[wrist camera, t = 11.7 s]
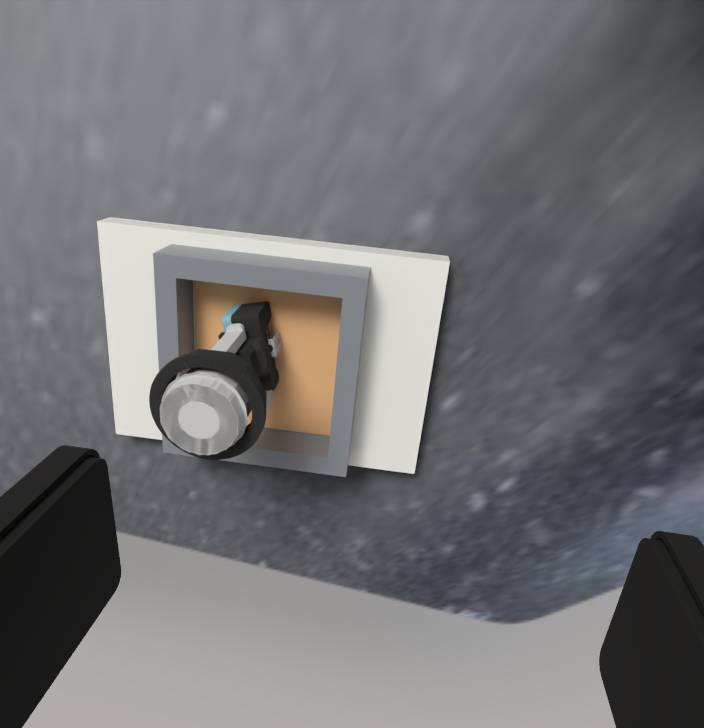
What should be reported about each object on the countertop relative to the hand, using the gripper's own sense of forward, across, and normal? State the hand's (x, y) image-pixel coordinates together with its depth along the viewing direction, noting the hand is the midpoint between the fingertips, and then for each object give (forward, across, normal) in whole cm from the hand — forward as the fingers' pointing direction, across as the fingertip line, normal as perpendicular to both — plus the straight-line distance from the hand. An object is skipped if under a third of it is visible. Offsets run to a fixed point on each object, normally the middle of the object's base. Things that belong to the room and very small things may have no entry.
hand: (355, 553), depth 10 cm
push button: (+23, +8, +6) cm, 25 cm away
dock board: (+24, +8, +7) cm, 26 cm away
